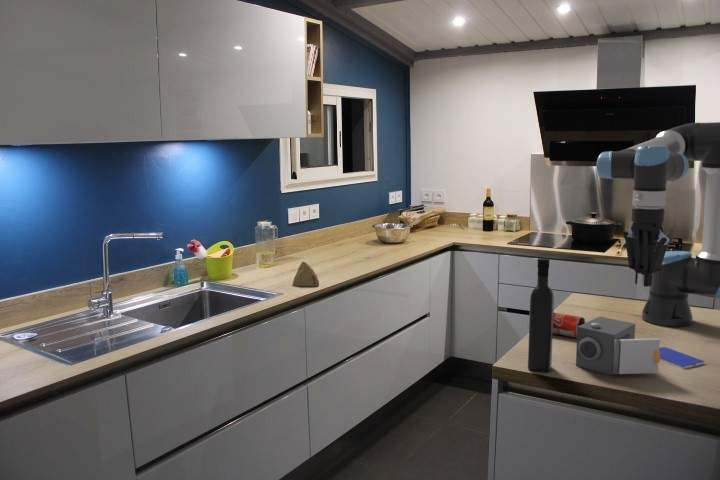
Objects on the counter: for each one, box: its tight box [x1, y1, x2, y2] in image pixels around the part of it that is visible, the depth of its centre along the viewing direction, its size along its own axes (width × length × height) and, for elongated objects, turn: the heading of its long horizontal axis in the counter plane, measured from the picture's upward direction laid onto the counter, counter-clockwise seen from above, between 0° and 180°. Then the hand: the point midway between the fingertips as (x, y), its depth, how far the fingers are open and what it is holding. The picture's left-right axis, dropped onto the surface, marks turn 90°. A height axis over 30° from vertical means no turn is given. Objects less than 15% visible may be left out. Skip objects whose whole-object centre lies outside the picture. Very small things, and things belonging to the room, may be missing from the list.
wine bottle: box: [527, 257, 555, 373], centre depth 165 cm, size 6×6×30 cm
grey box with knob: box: [575, 316, 636, 376], centre depth 168 cm, size 15×10×12 cm
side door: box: [613, 337, 661, 375], centre depth 159 cm, size 12×2×9 cm, turn 92°
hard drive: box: [659, 346, 705, 370], centre depth 173 cm, size 2×8×12 cm
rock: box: [292, 261, 320, 287], centre depth 261 cm, size 11×9×10 cm
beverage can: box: [553, 312, 586, 339], centre depth 194 cm, size 7×12×7 cm, turn 54°
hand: (642, 297), depth 161 cm, fingers closed
